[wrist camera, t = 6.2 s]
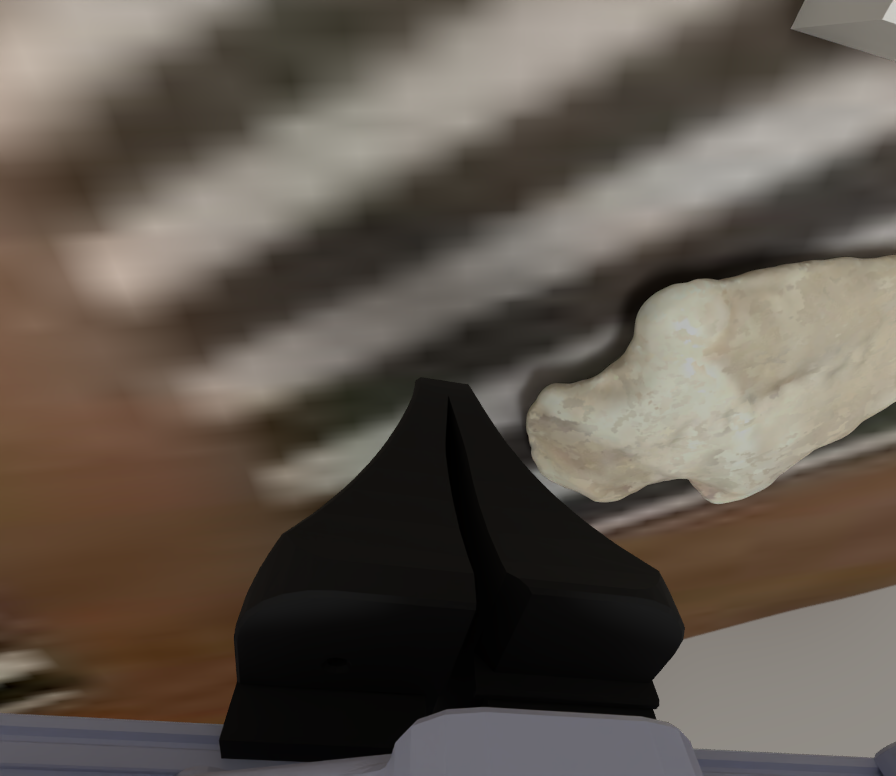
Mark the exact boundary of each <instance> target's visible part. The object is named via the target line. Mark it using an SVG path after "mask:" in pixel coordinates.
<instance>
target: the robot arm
mask: <svg viewBox="0 0 896 776" xmlns="http://www.w3.org/2000/svg"><path fill="white" fill-rule="evenodd" d="M684 630H685V627H684V624H683V622H682V619H681V617H680V615H679V612H678V610H677V608H676V605H675V603H674V601H673V598H672V596H671V594H670V592H669V590H668V588H667V586H666V584H665V582H664V580H663V578H662V576H661V574H660V573H659V571H658V570H656V569H655V568H653V567H651V566H650V565H648V564H647V563H645V562H643V561H642V560H640V559H639V558H637V557H635V556H634V555H632V554H631V553H629V552H628V551H626V550H624V549H623V548H621V547H620V546H618V545H617V544H615V543H614V542H612V541H611V540H609V539H608V538H607V537H605V536H604V535H603V534H601V533H600V532H598V531H597V530H596V529H594V528H593V527H592V526H590V525H589V524H588V523H586V522H585V521H584V520H583V519H581V518H580V517H579V516H578V515H576V514H575V513H574V512H573V511H572V510H571V509H569V508H568V507H567V506H566V505H565V504H564V503H562V502H561V501H560V500H559V499H558V498H557V497H556V496H555V495H553V494H552V493H551V492H550V491H549V490H548V489H547V488H546V487H545V486H544V485H543V484H542V483H541V482H540V481H539V480H538V479H537V478H536V477H535V476H534V475H533V474H532V472H531V471H530V470H529V469H528V468H527V467H526V466H525V465H524V464H523V463H522V461H521V460H520V459H519V458H518V457H517V455H516V454H515V453H514V452H513V450H512V449H511V448H510V447H509V445H508V444H507V443H506V441H505V440H504V439H503V437H502V436H501V434H500V433H499V431H498V430H497V429H496V427H495V426H494V424H493V423H492V421H491V420H490V418H489V417H488V415H487V414H486V412H485V410H484V409H483V407H482V406H481V404H480V402H479V401H478V399H477V397H476V396H475V394H474V392H473V391H472V389H471V388H470V386H469V385H468V384H461V383H455V382H448V381H441V380H435V379H428V378H419V379H418V380H416V382H415V387H414V392H413V396H412V399H411V401H410V403H409V406H408V407H407V409H406V411H405V413H404V415H403V417H402V419H401V420H400V422H399V424H398V425H397V427H396V428H395V430H394V431H393V433H392V434H391V436H390V437H389V439H388V440H387V442H386V443H385V444H384V446H383V447H382V448H381V450H380V451H379V452H378V453H377V454H376V456H375V457H374V458H373V459H372V460H371V462H370V463H369V464H368V465H367V466H366V467H365V468H364V469H363V470H362V471H361V472H360V473H359V474H358V475H357V476H356V477H355V478H354V479H353V480H352V481H351V482H350V483H349V484H348V485H347V486H346V487H345V488H344V489H343V490H341V491H340V492H339V493H338V494H337V495H335V496H334V497H333V498H332V499H331V500H329V501H328V502H327V503H326V504H325V505H323V506H322V507H321V508H320V509H318V510H317V511H316V512H314V513H313V514H312V515H310V516H309V517H307V518H306V519H304V520H303V521H301V522H300V523H298V524H297V525H295V526H294V527H292V528H291V529H289V530H288V531H286V532H285V533H283V534H282V535H281V537H280V538H279V540H278V541H277V542H276V544H275V545H274V547H273V548H272V550H271V551H270V553H269V554H268V556H267V558H266V559H265V561H264V562H263V564H262V566H261V567H260V569H259V571H258V573H257V574H256V576H255V578H254V580H253V582H252V584H251V586H250V588H249V590H248V593H247V595H246V597H245V600H244V603H243V606H242V609H241V612H240V615H239V618H238V621H237V623H236V628H235V634H234V646H235V659H236V672H237V684H236V687H235V690H234V693H233V696H232V700H231V703H230V706H229V709H228V712H227V716H226V719H225V722H224V725H222V724H202V723H183V722H163V721H144V720H124V719H105V718H85V717H65V716H46V715H26V714H7V713H0V776H896V742H894V743H892V744H890V745H888V746H886V747H885V748H883V749H882V750H880V751H879V752H878V753H876V755H875V757H874V758H867V757H847V756H828V755H809V754H789V753H769V752H749V751H730V750H711V749H693V747H692V745H691V742H690V741H689V739H688V738H687V737H686V736H685V735H684V734H683V733H682V732H681V731H680V730H679V729H678V728H677V727H675V726H674V725H672V724H670V723H669V722H664V721H660V720H656V717H655V714H654V711H653V709H657V707H658V706H659V698H658V695H657V692H656V689H655V687H654V684H653V681H652V680H653V679H654V678H655V676H656V675H657V674H658V673H659V672H660V671H661V669H662V668H663V667H664V666H665V665H666V664H667V662H668V661H669V660H670V659H671V658H672V656H673V655H674V654H675V652H676V651H677V649H678V648H679V646H680V644H681V642H682V641H683V637H684Z"/></svg>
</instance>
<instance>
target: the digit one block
mask: <svg viewBox="0 0 896 776" xmlns="http://www.w3.org/2000/svg"><path fill="white" fill-rule="evenodd" d="M791 29H793V30H796V31H799V32H802V33H806V34H809V35H812V36H815V37H818V38H821V39H825V40H828V41H831V42H834V43H837V44H840V45H844V46H847V47H850V48H853V49H856V50H860V51H863V52H866V53H869V54H872V55H875V56H879V57H882V58H885V59H888V60H891V61H895V62H896V0H805V1H804V3H803V5H802V7H801V9H800V11H799V13H798V15H797V17H796V19H795V21H794V23H793V25H792V27H791Z"/></svg>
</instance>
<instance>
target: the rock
mask: <svg viewBox="0 0 896 776" xmlns="http://www.w3.org/2000/svg"><path fill="white" fill-rule="evenodd" d="M894 402H896V255H887V256H882V257H878V258H865V259H860V258H854V257H839V258H833V259H828V260H809V261H803V262H799V263H790V264H783V265H779V266H776V267H769V268H764V269H758V270H753V271H749V272H746V273H744V274H741V275H738V276H734V277H730V278H724V279H720V280H714V279H708V278H704V279H695V280H692V281H690V282H687V283H678V284H673V285H670V286H668V287H666V288H664V289H662V290H660V291H658V292H656V293H655V294H653V295H652V296H651V297H650V298H648V299H647V300H646V301H645V302H644V304H643V305H642V306H641V308H640V310H639V312H638V314H637V316H636V320H635V328H634V336H633V339H632V340H631V342H630V344H629V346H628V348H627V350H626V352H625V353H624V354H623V355H622V356H621V357H620V358H619V359H618V360H616V361H615V362H613V363H612V364H610V365H609V366H608V367H607V368H606V369H605V370H603V371H602V372H601V373H600V374H598V375H596V376H595V377H592V378H590V379H586V380H581V381H578V382H575V383H571V384H564V383H553V384H551V385H548V386H547V387H545V388H544V389H543V390H542V391H541V392H540V394H539V395H538V397H537V399H536V401H535V402H534V403H533V404H532V405H531V407H530V408H529V411H528V413H527V418H526V431H527V434H528V436H529V442H530V446H531V447H532V450H531V455H532V458H533V460H534V461H535V463H536V465H537V467H538V469H539V471H540V473H541V474H542V475H543V476H545V477H546V478H547V479H548V480H550V481H552V482H554V483H557V484H559V485H561V486H563V487H565V488H568V489H571V490H574V491H577V492H579V493H581V494H583V495H585V496H587V497H588V498H590V499H592V500H593V501H596V502H611V501H617V500H620V499H622V498H624V497H626V496H627V495H629V494H632V493H634V492H637V491H638V490H640V489H641V488H643V487H644V486H646V485H649V484H653V483H657V482H661V481H668V480H673V479H688V480H689V481H690V483H691V484H692V485H693V486H694V487H695V488H696V489H697V490H698V491H699V492H700V494H701V495H702V496H703V497H704V498H705V499H706V500H708V501H710V502H711V503H714V504H722V503H728V502H732V501H736V500H741V499H744V498H746V497H749V496H751V495H752V494H755V493H757V492H759V491H761V490H763V489H765V488H766V487H768V486H769V485H770V484H772V483H773V482H774V481H775V480H776V479H777V478H778V476H780V475H781V474H782V473H784V472H785V471H786V470H788V469H789V468H791V467H792V466H793V465H794V464H796V463H797V462H798V461H800V460H801V459H803V458H804V457H806V456H807V455H808V454H810V453H811V452H812V451H813V450H815V449H817V448H820V447H822V446H825V445H827V444H829V443H832V442H834V441H837V440H839V439H841V438H843V437H845V436H846V435H848V434H849V433H851V432H852V431H853V430H854V429H855V428H856V427H857V426H858V425H859V424H860V423H861V422H862V421H864V420H866V419H868V418H869V417H871V416H873V415H875V414H876V413H878V412H880V411H882V410H883V409H885V408H887V407H888V406H889V405H891V404H892V403H894Z"/></svg>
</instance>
